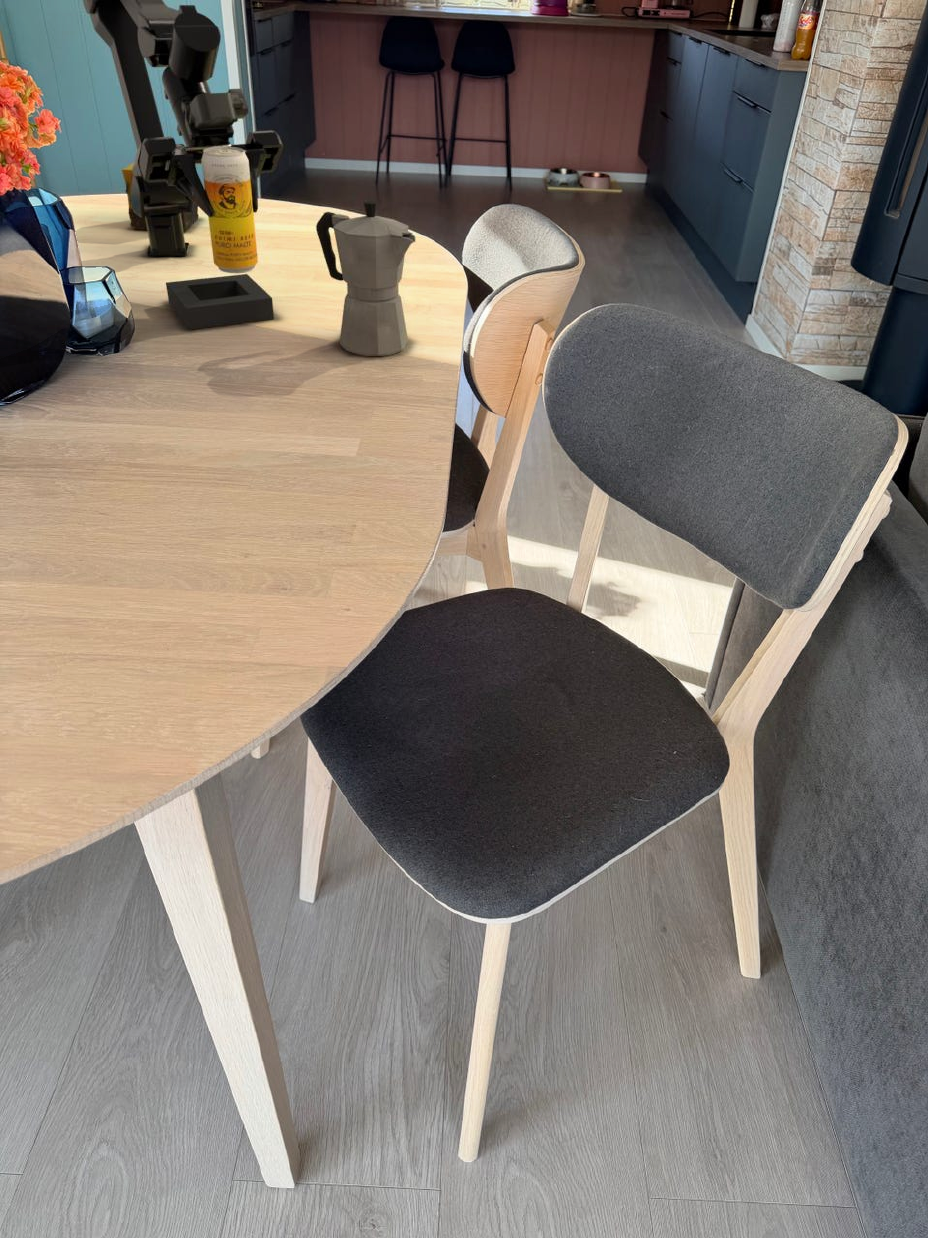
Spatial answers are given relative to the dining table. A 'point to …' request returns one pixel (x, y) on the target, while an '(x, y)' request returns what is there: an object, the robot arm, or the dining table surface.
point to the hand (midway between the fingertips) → (233, 212)
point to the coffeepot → (368, 278)
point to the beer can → (230, 208)
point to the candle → (136, 220)
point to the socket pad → (219, 301)
